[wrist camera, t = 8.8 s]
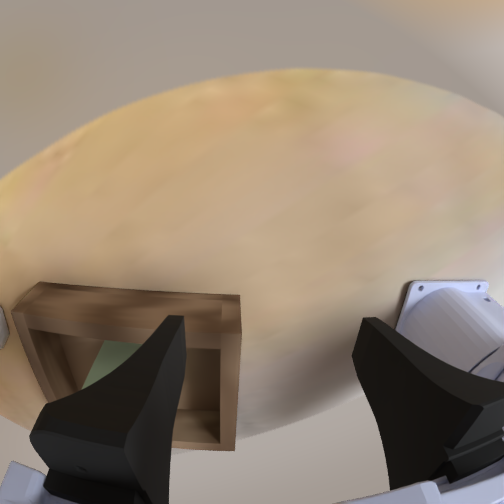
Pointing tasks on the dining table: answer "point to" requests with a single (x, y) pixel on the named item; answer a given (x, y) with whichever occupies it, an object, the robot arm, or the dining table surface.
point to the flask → (3, 329)
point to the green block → (109, 359)
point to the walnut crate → (138, 331)
